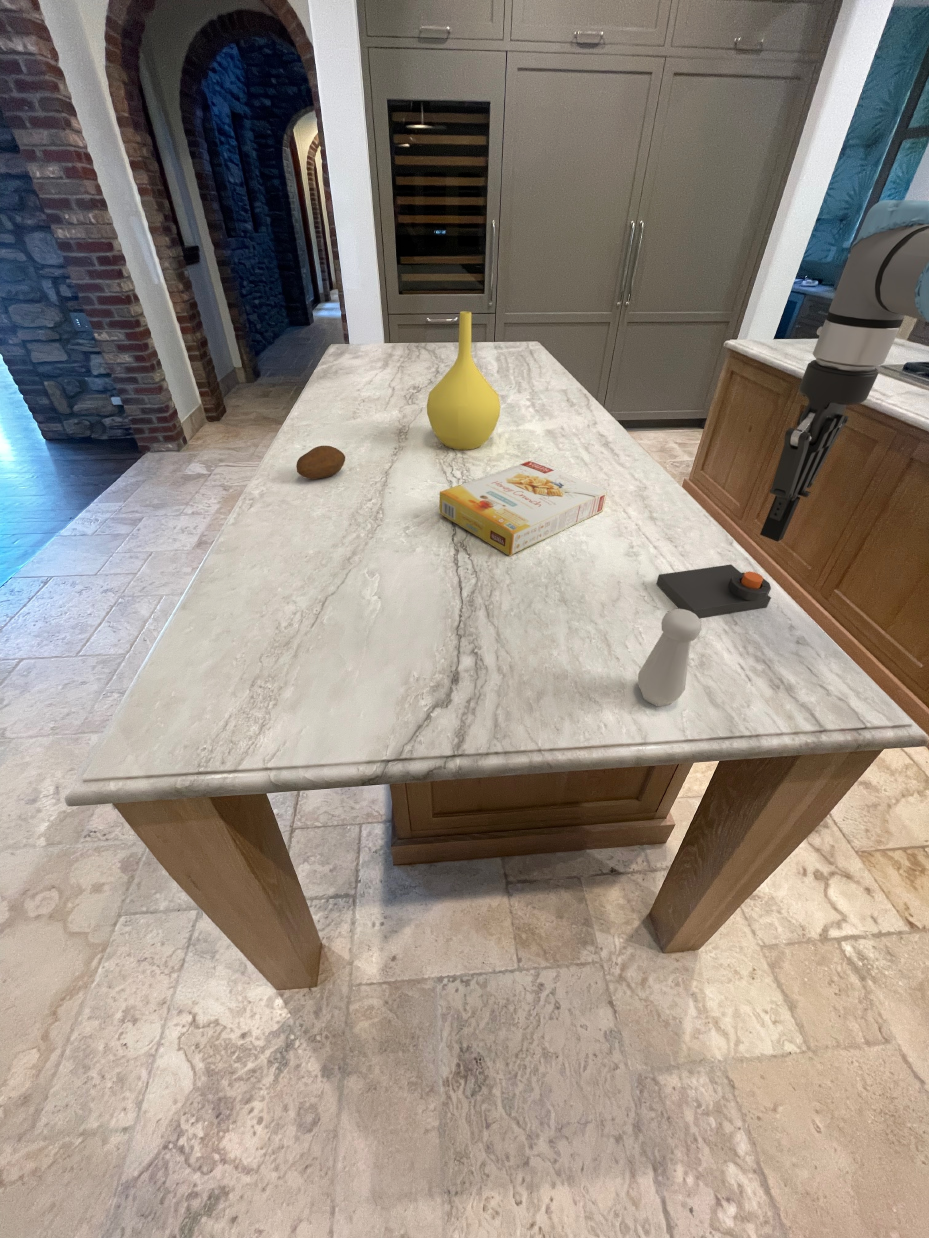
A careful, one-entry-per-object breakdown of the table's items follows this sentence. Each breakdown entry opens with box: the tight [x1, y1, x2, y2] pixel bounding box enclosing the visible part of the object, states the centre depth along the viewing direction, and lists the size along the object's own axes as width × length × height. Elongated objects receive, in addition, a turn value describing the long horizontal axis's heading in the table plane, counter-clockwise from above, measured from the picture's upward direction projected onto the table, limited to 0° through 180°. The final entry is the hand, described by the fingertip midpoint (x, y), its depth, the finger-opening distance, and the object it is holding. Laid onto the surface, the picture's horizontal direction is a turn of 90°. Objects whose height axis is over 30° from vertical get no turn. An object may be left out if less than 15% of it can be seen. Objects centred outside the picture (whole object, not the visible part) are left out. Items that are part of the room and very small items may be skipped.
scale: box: [655, 564, 772, 619], centre depth 86 cm, size 14×10×4 cm
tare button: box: [741, 571, 764, 589], centre depth 84 cm, size 3×3×2 cm
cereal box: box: [438, 458, 608, 556], centre depth 107 cm, size 20×6×28 cm
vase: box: [426, 310, 501, 451], centre depth 130 cm, size 18×18×30 cm
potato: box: [295, 445, 346, 480], centre depth 118 cm, size 7×12×7 cm, turn 136°
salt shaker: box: [637, 608, 702, 707], centre depth 66 cm, size 6×6×13 cm
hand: (771, 536), depth 79 cm, fingers closed
